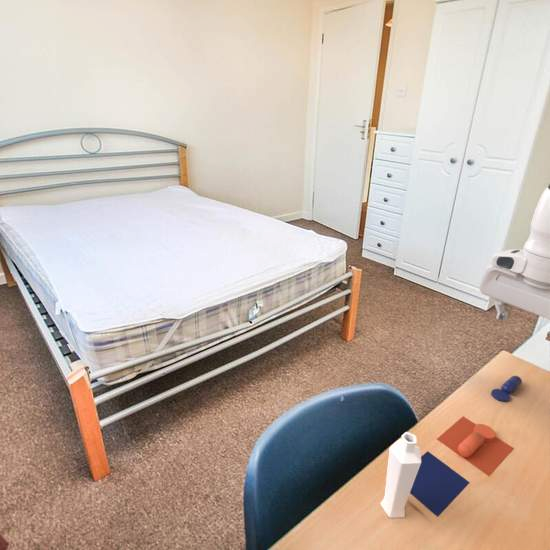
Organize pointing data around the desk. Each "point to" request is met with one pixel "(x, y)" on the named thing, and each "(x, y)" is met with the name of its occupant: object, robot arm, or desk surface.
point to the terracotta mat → (485, 455)
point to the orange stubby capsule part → (476, 440)
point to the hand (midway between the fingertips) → (524, 329)
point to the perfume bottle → (401, 474)
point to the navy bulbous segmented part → (506, 389)
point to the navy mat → (436, 484)
